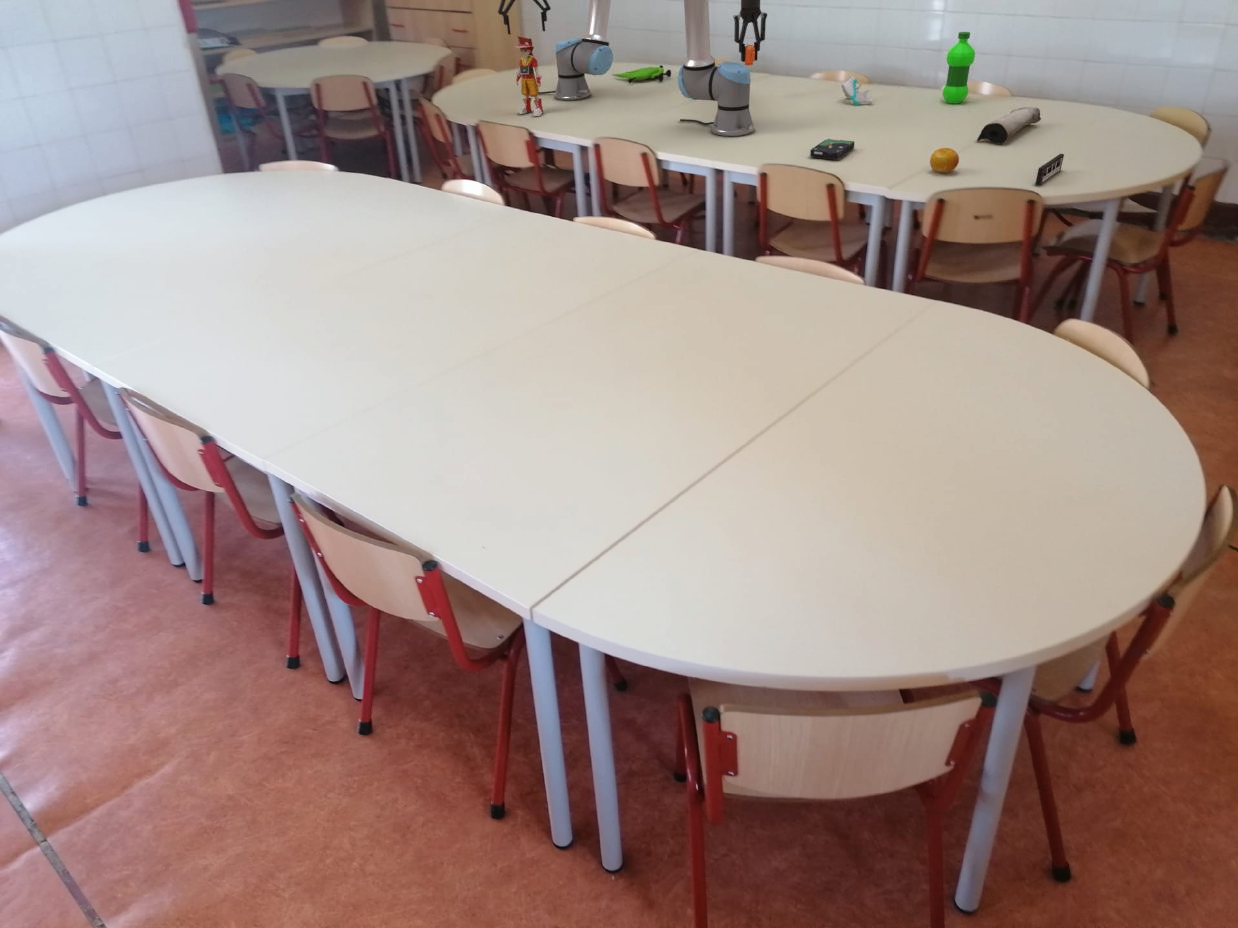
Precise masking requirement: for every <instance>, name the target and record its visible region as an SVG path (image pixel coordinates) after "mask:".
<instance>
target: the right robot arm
mask: <svg viewBox="0 0 1238 928" xmlns="http://www.w3.org/2000/svg"><path fill="white" fill-rule="evenodd" d="M683 9H684V10H683V11H684V27H685V44H686V45H685V46H686V58H685V59H684V61H682V66H681V67H680V68H679V70H678V76H677V86H678V89H679V92H680V94H681V95H682V96H683V97H684V98H686V99H690V100H693V101H695V100H696V101H697V100H700V101H711V102H717V111H716V114H715V118H714V120H713V121H710V122H704V121H702V120H698V119H689V118H686V119H685V118H680V119H679V121H680V122H691V123H698V124H701V125H704V126H709V125H712V133H713V134H715V135H717V136H721V137H741V136H746V135H750V134H752V133H754V127H755V126H754V122H753V118H752V115H751V111H750V99H751V98H750V97H751V96H750V94H751V71H750V68H749V66H747V65H745V64H742V63H745V46H746V44H745V43H744V41H745V37H746V33H747V28H748V25H749V24H750V23H752V27H753V32H754V38H755V41H754V42H753V46H754V47H755V61H756V62H757V61H758V52H760V50H761V43H762V42H764V41H765V40H766V25H767V24H766V22H767V17H768V13H766V12H763V11H762V10H761V0H740V11H739V13H738V14H734V15H733V16H732V17H733V21H734V34H733V35H734V39H733V40H734V42H735V44H736V43H737V44H738V52H739V53H740V61H741V62H742V63H740V62H734V61H731V62H729V61H724V62H720V63H719V64H718V65H717V66H716V60H715V59H716V58H714V56H713V55H711V36H710V35H711V33H710V32H711V31H710V30H711V29H710V7H709V0H683ZM759 17H760V30H759V25H758V24H759V23H758V19H759ZM741 19H742V26H741V30H740V20H741ZM755 61H754V62H755Z"/></svg>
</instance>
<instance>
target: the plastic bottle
mask: <svg viewBox="0 0 1238 928" xmlns="http://www.w3.org/2000/svg"><path fill="white" fill-rule="evenodd" d="M970 36H971V32H970V31H959V32H958V36H957V39H958V42H957V43H956V44H954V45H953V46H952V47H951V48H950V49H949V50H948V52H947V54H946V63H947V64H948V69H947V70H948V71H947V76H946V77H947V78H946V84H945V85H944V87H943V90H942V97H943V99H944V100H945V101H946V102H947V103H948V104H960V103H961V102H963V101H964V100H966V98H967V96H968V95H969V85H968V79H969V73H970V67H971V65H972V64H973V63H974V61H975V57H976V51H975V49H974V47H972V45H971V44H970V43H969V42H968V41H969V39H970V38H971V37H970Z"/></svg>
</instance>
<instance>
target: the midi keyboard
mask: <svg viewBox="0 0 1238 928" xmlns="http://www.w3.org/2000/svg"><path fill="white" fill-rule="evenodd" d="M1064 157H1065V153H1059V154H1058V155H1056V156H1055V157H1052V159H1051V160H1049V161H1047V162H1045V164H1042V165H1041V166H1039V167H1038V169H1037V175H1036V179H1035V186H1040V185H1042V183H1044V182H1045V181H1047V180H1048V179H1049V178H1051V177H1052V176H1054V175H1055V174H1056V173H1058V172H1060V171H1061V170H1062V165H1063V161H1064Z"/></svg>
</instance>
